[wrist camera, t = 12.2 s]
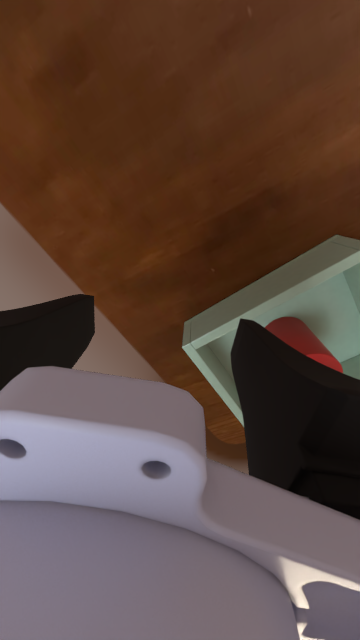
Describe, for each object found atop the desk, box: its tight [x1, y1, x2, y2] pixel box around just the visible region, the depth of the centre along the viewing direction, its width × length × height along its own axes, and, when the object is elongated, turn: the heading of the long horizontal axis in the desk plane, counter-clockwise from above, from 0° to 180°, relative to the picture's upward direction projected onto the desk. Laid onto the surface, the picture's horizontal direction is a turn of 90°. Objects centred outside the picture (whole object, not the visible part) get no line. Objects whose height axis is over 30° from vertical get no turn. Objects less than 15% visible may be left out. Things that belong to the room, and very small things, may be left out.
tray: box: [182, 235, 360, 426], centre depth 21 cm, size 15×13×4 cm
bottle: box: [265, 317, 343, 373], centre depth 19 cm, size 4×4×8 cm
